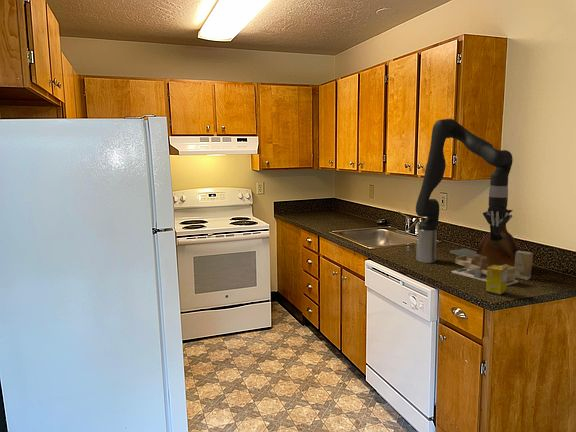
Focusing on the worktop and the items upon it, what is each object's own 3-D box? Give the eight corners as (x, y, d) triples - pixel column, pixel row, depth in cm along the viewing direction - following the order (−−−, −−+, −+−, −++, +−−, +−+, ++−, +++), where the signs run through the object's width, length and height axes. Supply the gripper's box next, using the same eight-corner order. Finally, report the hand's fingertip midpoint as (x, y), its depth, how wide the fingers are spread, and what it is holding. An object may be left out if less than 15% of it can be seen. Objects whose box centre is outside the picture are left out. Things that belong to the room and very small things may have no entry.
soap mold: (465, 252, 252) (465, 246, 252) (488, 260, 233) (489, 254, 233) (449, 253, 250) (449, 247, 249) (472, 261, 231) (472, 255, 230)
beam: (454, 262, 209) (456, 251, 208) (463, 260, 213) (465, 249, 211) (506, 282, 188) (508, 270, 186) (515, 279, 192) (517, 267, 190)
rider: (470, 265, 203) (472, 255, 202) (475, 263, 205) (477, 253, 204) (480, 268, 199) (482, 258, 198) (485, 267, 201) (487, 257, 200)
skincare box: (513, 277, 199) (514, 251, 197) (516, 275, 202) (518, 250, 200) (528, 280, 195) (530, 254, 193) (531, 278, 198) (533, 252, 196)
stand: (451, 272, 209) (451, 264, 208) (464, 269, 215) (464, 261, 214) (505, 286, 187) (505, 277, 186) (518, 282, 192) (518, 273, 192)
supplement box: (492, 289, 183) (493, 264, 181) (506, 292, 178) (508, 267, 177) (485, 292, 179) (486, 267, 177) (500, 296, 175) (501, 269, 173)
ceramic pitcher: (521, 265, 220) (525, 207, 215) (516, 275, 203) (520, 212, 199) (480, 260, 231) (483, 204, 226) (472, 269, 214) (475, 209, 210)
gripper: (479, 195, 194) (477, 233, 197) (508, 197, 183) (505, 237, 186) (489, 194, 198) (487, 231, 201) (517, 196, 187) (515, 235, 190)
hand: (496, 234), depth 193 cm, fingers closed
